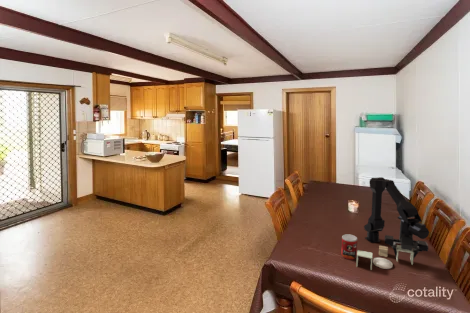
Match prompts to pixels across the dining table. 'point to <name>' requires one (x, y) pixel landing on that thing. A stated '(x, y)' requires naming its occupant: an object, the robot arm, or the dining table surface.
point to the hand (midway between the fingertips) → (404, 258)
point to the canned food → (349, 246)
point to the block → (383, 251)
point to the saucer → (382, 263)
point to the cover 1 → (364, 254)
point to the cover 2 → (404, 251)
